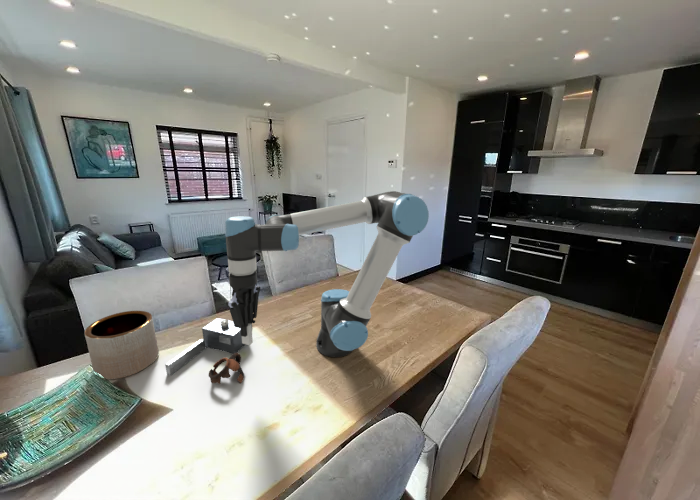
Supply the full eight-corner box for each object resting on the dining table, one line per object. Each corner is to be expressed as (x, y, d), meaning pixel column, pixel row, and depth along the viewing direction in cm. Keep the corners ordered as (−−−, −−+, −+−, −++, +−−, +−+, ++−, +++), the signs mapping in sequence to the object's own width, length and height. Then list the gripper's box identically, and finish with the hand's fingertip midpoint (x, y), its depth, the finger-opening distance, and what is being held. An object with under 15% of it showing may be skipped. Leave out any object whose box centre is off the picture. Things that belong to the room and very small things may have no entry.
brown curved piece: (240, 391, 87) (223, 376, 84) (216, 397, 90) (199, 382, 86) (254, 359, 97) (239, 344, 94) (232, 365, 100) (218, 350, 96)
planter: (106, 353, 101) (96, 314, 97) (163, 343, 108) (157, 306, 104) (84, 387, 86) (72, 343, 81) (153, 373, 92) (145, 332, 88)
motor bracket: (248, 342, 111) (247, 319, 108) (201, 384, 88) (197, 358, 86) (219, 335, 114) (216, 313, 112) (166, 374, 92) (162, 348, 89)
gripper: (246, 262, 86) (250, 329, 93) (215, 277, 74) (222, 352, 81) (267, 266, 84) (269, 334, 91) (239, 281, 72) (244, 358, 79)
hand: (247, 342), depth 86 cm, fingers closed
